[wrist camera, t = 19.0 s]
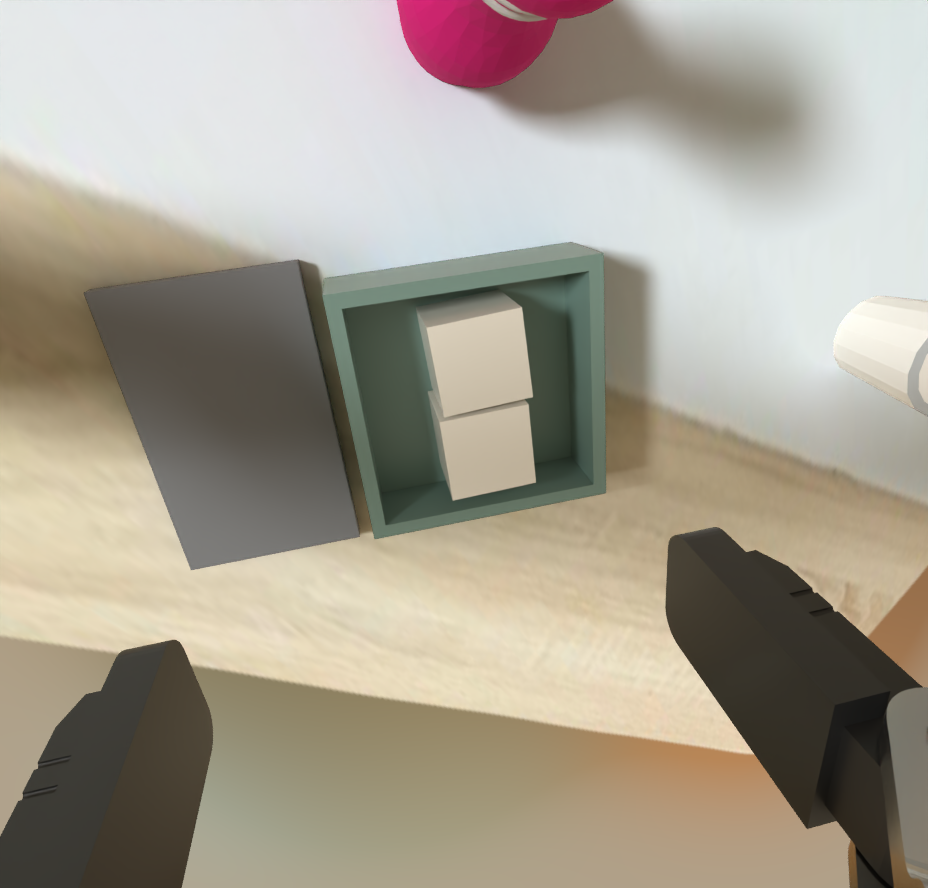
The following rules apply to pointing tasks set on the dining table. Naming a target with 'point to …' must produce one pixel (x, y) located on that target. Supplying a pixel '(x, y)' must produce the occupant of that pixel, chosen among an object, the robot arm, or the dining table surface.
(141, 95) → the dining table surface
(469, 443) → the pale stone
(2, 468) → the dining table surface
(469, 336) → the pale stone
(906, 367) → the shot glass
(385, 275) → the bin
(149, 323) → the stone mat
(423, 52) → the pepper mill
